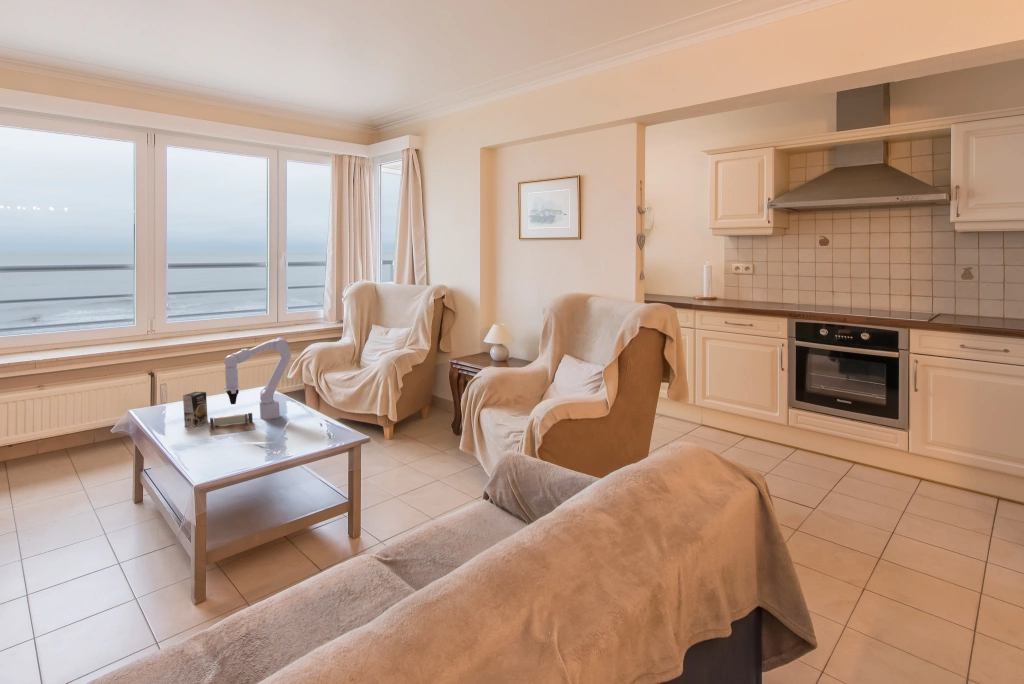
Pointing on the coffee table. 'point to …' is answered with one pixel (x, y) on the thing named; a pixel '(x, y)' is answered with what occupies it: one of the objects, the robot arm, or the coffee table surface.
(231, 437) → the coffee table surface
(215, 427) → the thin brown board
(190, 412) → the coffee box
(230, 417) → the gate
